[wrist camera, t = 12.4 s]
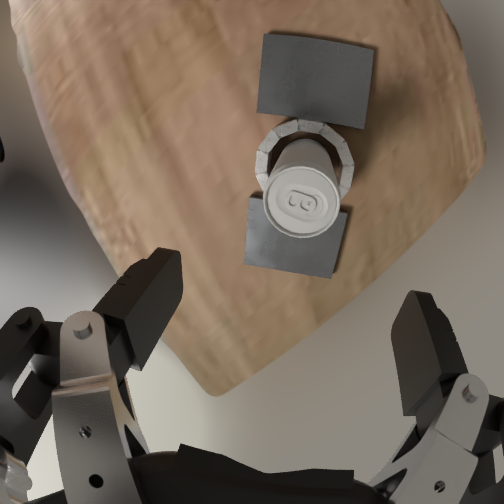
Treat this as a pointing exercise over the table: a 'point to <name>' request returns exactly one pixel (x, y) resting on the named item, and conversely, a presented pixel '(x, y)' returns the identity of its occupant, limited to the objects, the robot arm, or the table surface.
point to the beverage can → (302, 190)
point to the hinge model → (310, 120)
